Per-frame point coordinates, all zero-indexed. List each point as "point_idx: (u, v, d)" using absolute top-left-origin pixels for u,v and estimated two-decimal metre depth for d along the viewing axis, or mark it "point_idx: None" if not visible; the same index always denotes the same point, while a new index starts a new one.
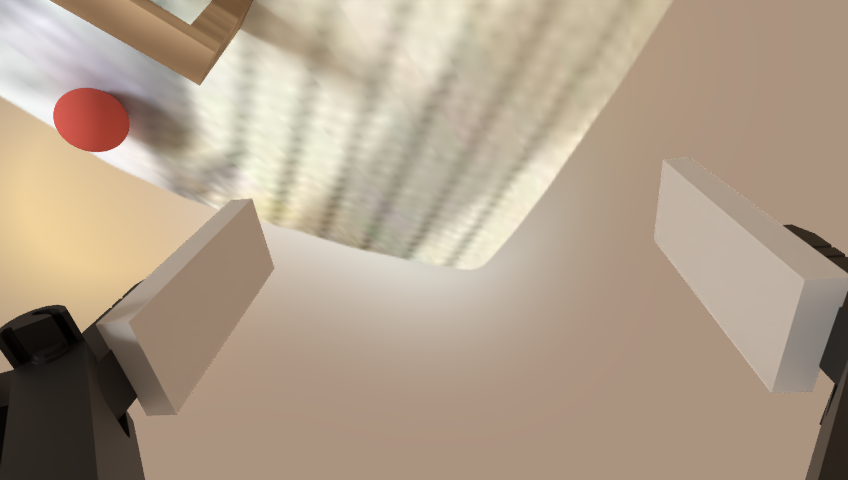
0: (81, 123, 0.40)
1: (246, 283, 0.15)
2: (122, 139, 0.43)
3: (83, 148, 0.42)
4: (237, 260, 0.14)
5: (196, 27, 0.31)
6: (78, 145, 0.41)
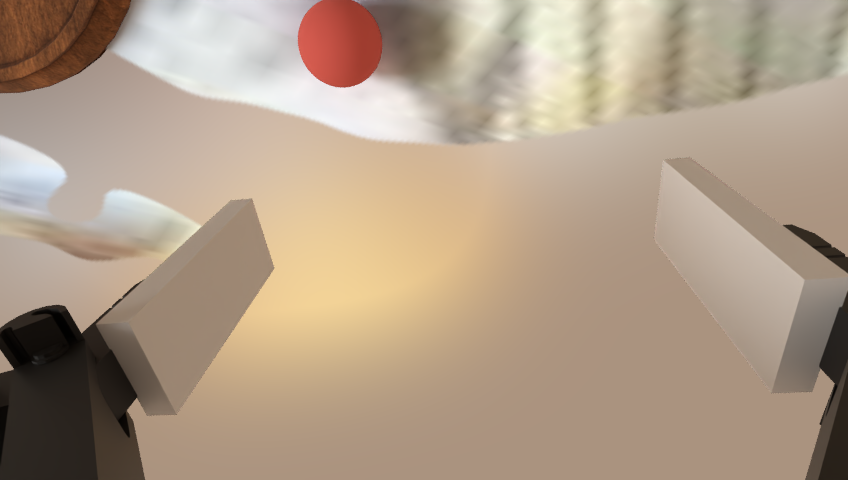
0: (332, 25, 0.29)
1: (246, 283, 0.15)
2: (379, 48, 0.31)
3: (343, 71, 0.30)
4: (238, 260, 0.14)
5: None
6: (336, 67, 0.30)
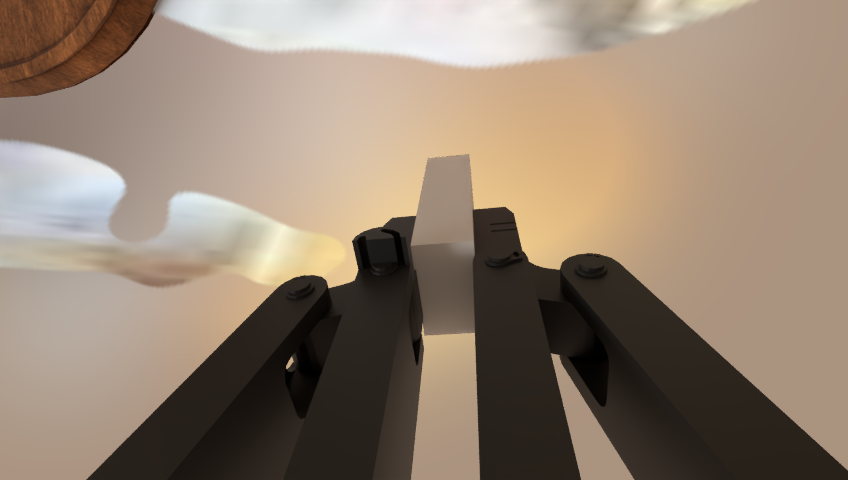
0: None
1: None
2: None
3: None
4: None
5: None
6: None
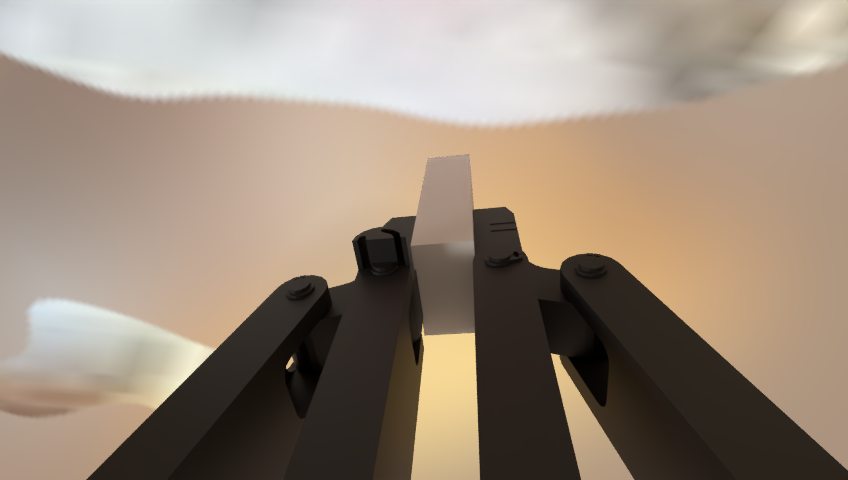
0: None
1: None
2: None
3: None
4: None
5: None
6: None
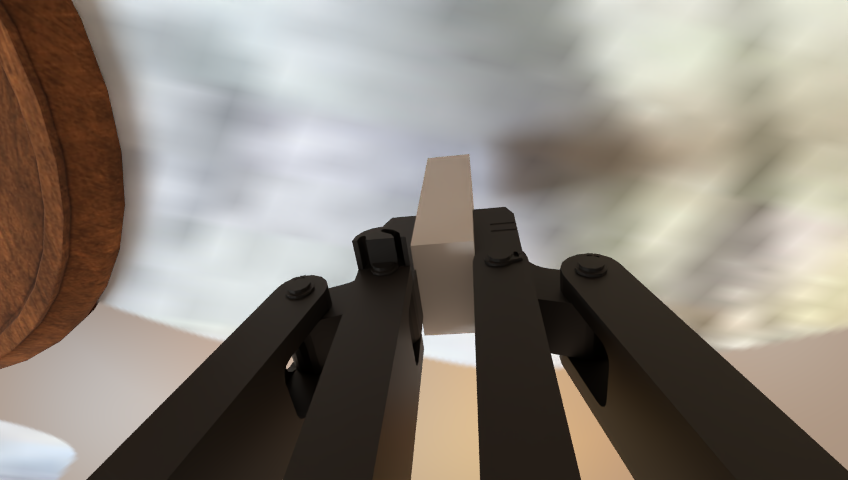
0: None
1: None
2: None
3: None
4: None
5: None
6: None
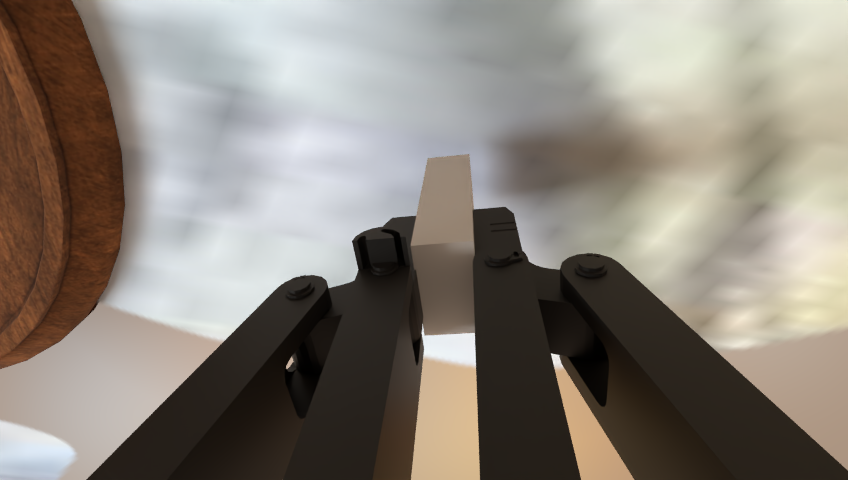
0: None
1: None
2: None
3: None
4: None
5: None
6: None
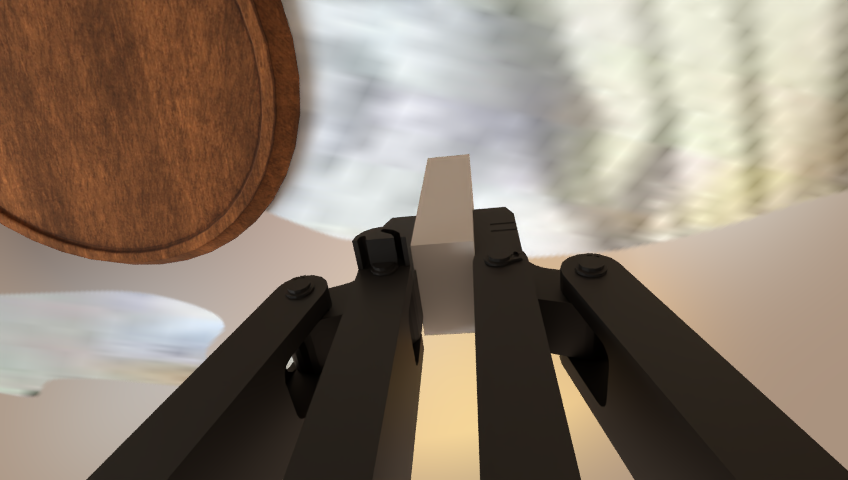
0: None
1: None
2: None
3: None
4: None
5: None
6: None
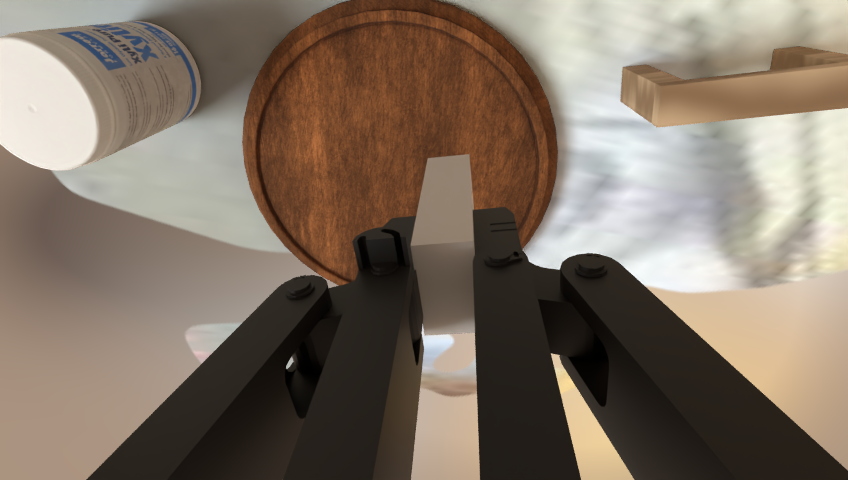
0: None
1: None
2: None
3: None
4: None
5: (843, 61, 0.34)
6: None
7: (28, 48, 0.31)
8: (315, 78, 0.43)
